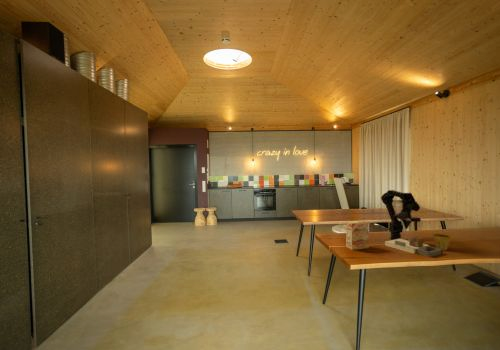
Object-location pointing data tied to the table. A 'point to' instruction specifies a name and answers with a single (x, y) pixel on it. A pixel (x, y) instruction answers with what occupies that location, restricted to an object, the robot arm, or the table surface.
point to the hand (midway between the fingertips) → (406, 228)
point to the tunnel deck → (404, 246)
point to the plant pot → (441, 241)
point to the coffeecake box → (357, 235)
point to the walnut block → (416, 241)
